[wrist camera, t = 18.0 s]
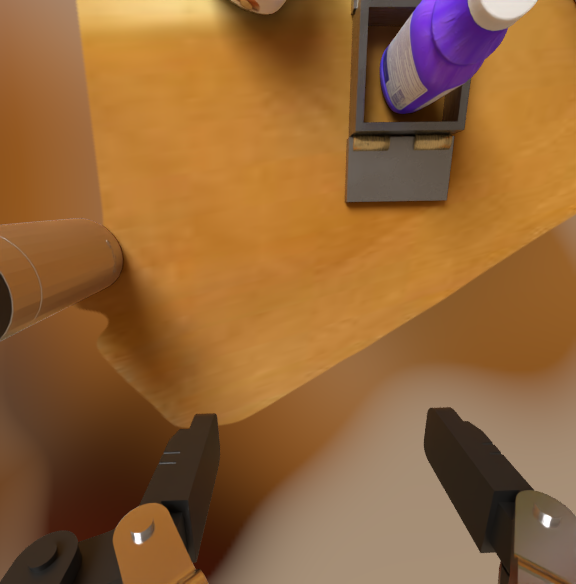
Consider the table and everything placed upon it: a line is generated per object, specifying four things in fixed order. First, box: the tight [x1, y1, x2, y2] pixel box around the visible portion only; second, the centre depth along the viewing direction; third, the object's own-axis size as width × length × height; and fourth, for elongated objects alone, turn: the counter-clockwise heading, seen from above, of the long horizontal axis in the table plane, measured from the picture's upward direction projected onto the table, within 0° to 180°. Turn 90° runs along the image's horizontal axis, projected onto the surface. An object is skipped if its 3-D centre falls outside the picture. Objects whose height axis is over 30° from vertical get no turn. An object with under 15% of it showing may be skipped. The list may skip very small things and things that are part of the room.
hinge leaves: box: [345, 0, 471, 202], centre depth 33 cm, size 12×26×4 cm, turn 1°
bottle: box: [380, 0, 538, 114], centre depth 27 cm, size 7×6×17 cm
